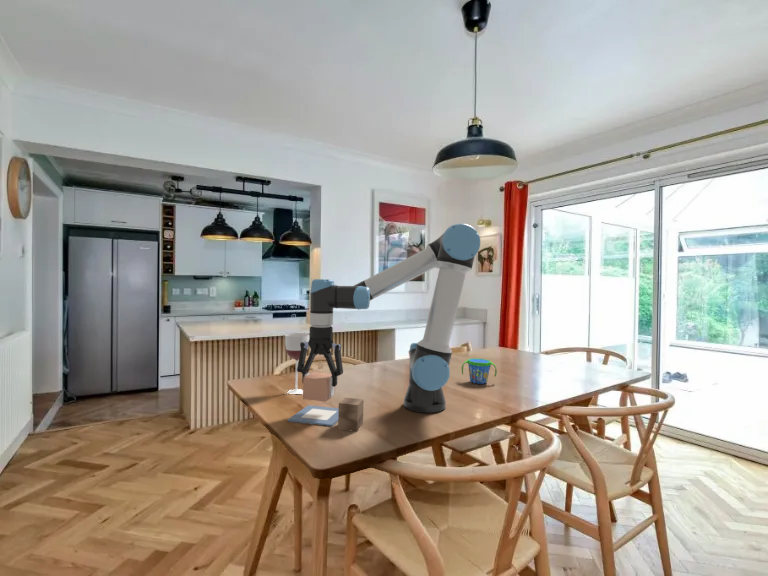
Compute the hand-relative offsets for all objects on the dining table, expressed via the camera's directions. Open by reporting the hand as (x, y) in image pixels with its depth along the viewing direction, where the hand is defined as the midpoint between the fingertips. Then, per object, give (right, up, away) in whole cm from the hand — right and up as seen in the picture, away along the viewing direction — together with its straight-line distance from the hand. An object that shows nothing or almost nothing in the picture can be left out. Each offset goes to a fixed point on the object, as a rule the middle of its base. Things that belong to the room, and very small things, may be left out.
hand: (319, 394), depth 127 cm
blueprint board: (0, -7, 0) cm, 7 cm away
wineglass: (-14, -7, +27) cm, 31 cm away
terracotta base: (0, -1, 0) cm, 1 cm away
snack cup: (+65, -8, +49) cm, 82 cm away
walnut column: (+11, -8, -9) cm, 16 cm away
